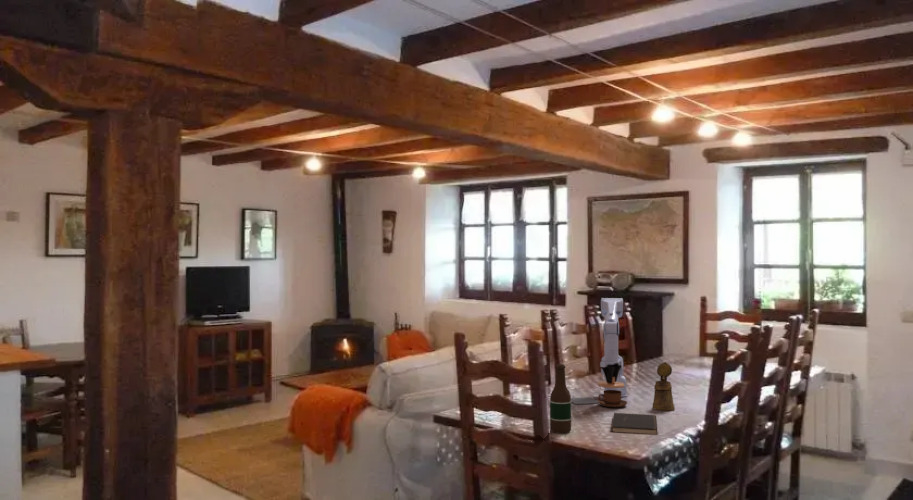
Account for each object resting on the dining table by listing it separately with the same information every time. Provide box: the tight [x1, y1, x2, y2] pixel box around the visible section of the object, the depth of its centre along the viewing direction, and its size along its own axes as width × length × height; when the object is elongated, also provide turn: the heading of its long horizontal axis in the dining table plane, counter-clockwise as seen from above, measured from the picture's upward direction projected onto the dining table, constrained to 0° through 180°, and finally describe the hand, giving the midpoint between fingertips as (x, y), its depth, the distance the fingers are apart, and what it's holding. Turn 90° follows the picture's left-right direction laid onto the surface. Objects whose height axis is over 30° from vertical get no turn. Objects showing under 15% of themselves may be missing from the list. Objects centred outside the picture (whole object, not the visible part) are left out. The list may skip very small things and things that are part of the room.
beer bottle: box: [549, 363, 572, 434], centre depth 258 cm, size 8×8×24 cm
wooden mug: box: [652, 361, 675, 412], centre depth 296 cm, size 9×14×18 cm, turn 158°
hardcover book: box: [611, 412, 659, 435], centre depth 266 cm, size 16×23×2 cm
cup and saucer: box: [597, 390, 628, 408], centre depth 300 cm, size 12×12×6 cm
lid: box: [597, 377, 625, 388], centre depth 300 cm, size 11×11×4 cm
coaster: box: [571, 396, 600, 406], centre depth 310 cm, size 12×12×1 cm
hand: (611, 382), depth 300 cm, fingers closed on lid, 3 cm apart
